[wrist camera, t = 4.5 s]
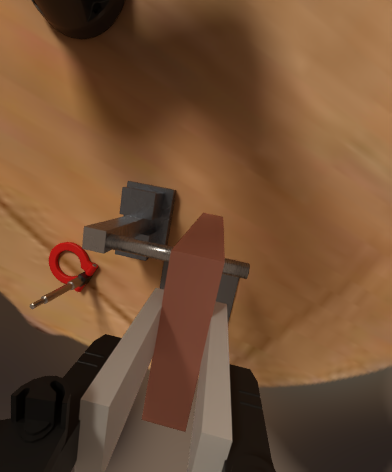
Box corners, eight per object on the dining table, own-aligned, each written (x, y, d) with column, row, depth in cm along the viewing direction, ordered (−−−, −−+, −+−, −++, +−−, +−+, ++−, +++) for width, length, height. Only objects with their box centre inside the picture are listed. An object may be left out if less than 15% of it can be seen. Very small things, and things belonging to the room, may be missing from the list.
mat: (166, 250, 41) (165, 250, 41) (241, 266, 40) (241, 267, 40) (152, 334, 45) (151, 335, 45) (220, 351, 44) (220, 352, 43)
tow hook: (46, 264, 45) (81, 293, 45) (-26, 289, 33) (22, 330, 32) (66, 233, 43) (102, 263, 43) (-2, 246, 31) (50, 289, 31)
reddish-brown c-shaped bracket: (203, 212, 26) (171, 250, 10) (223, 216, 26) (224, 261, 10) (188, 286, 28) (141, 419, 12) (206, 290, 28) (185, 431, 12)
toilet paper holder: (132, 181, 39) (61, 173, 22) (244, 203, 38) (263, 213, 20) (124, 246, 42) (54, 284, 24) (229, 269, 40) (234, 327, 23)
